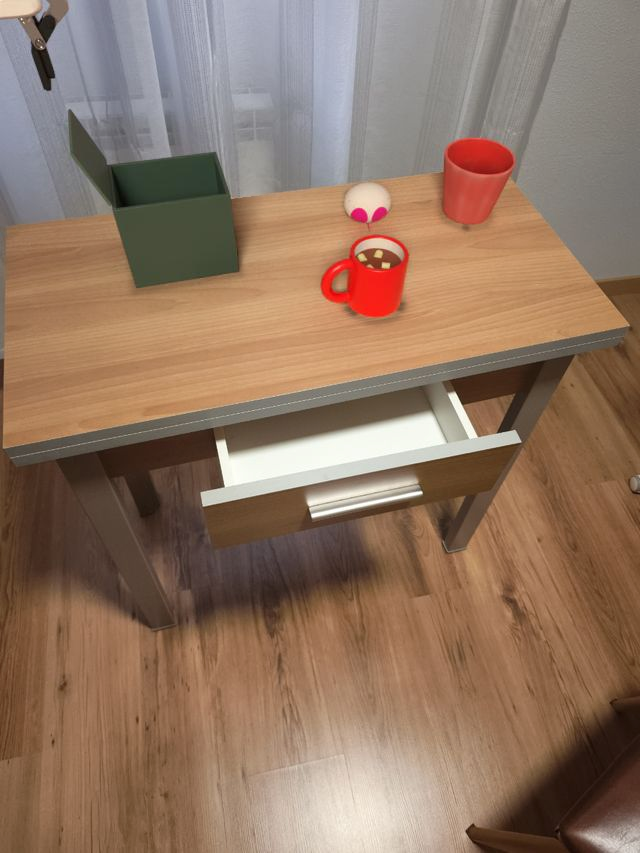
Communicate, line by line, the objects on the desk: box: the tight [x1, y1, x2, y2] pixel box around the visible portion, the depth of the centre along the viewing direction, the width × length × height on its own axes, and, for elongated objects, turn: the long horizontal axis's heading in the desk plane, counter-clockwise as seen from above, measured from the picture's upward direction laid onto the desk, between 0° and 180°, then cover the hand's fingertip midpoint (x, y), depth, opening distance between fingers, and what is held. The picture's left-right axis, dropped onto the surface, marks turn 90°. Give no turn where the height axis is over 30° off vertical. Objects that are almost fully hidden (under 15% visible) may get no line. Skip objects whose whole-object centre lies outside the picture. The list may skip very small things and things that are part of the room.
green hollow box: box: [107, 151, 240, 289], centre depth 81 cm, size 15×11×12 cm
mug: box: [320, 234, 410, 318], centre depth 78 cm, size 8×12×8 cm, turn 110°
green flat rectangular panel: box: [67, 108, 112, 207], centre depth 71 cm, size 7×11×1 cm
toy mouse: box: [343, 181, 392, 232], centre depth 91 cm, size 8×8×7 cm
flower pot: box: [442, 137, 516, 226], centre depth 91 cm, size 11×11×10 cm
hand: (21, 86), depth 63 cm, fingers open, 4 cm apart
